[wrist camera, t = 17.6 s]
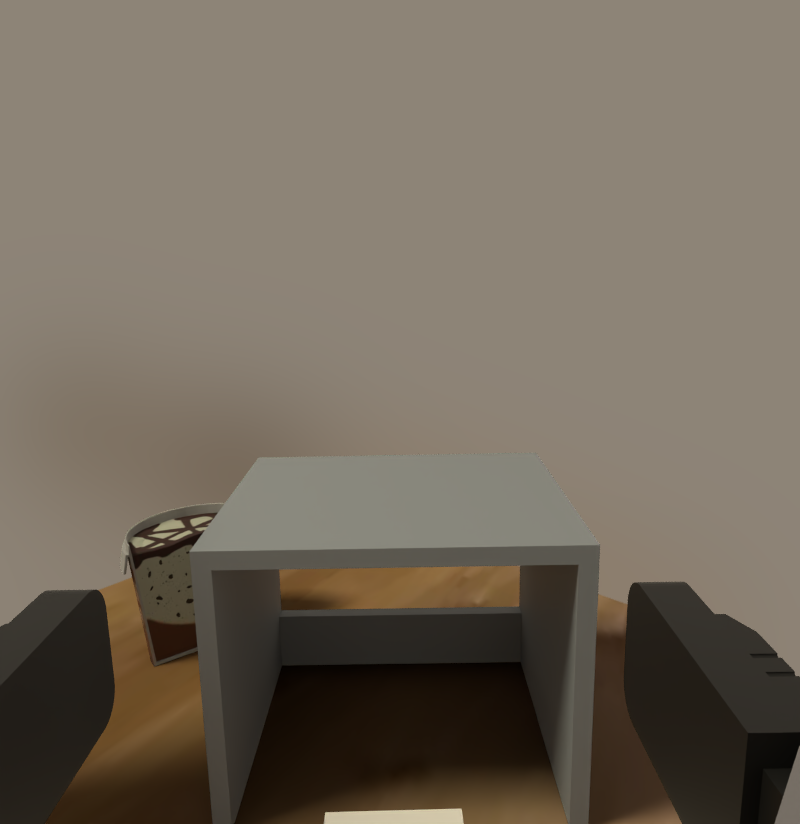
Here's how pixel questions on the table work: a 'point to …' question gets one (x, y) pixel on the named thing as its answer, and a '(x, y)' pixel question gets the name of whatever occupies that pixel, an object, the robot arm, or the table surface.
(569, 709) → the open box frame
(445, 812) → the cream block
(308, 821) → the table surface
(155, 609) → the food container
